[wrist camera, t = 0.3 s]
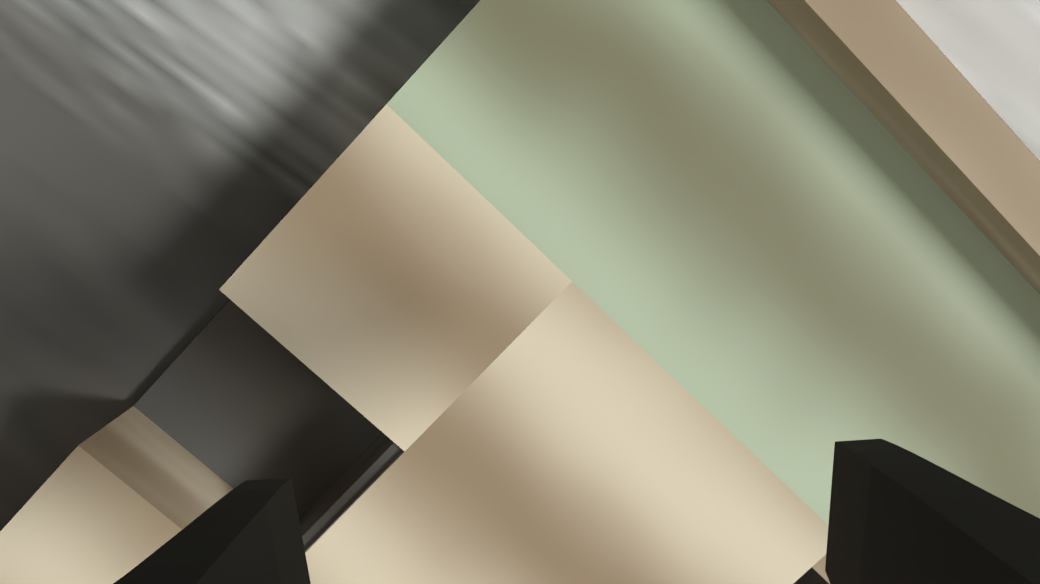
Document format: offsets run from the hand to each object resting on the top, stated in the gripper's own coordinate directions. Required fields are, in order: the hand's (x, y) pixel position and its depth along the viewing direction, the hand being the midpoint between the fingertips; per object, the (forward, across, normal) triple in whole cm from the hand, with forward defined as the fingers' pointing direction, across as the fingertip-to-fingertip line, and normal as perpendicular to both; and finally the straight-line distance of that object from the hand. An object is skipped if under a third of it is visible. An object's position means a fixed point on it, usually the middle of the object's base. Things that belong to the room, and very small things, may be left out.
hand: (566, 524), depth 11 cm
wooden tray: (+9, +1, +8) cm, 13 cm away
